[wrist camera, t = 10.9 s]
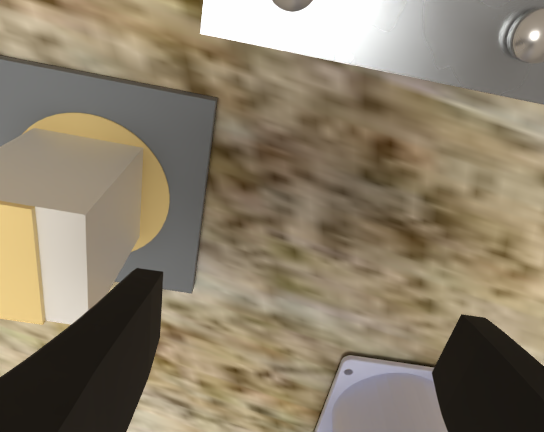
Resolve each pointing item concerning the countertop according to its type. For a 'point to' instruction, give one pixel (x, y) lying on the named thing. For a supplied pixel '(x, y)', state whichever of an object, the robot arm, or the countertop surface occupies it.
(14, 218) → the block
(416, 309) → the countertop surface
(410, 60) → the unit
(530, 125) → the countertop surface
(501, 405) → the robot arm
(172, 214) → the mat
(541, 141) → the countertop surface
